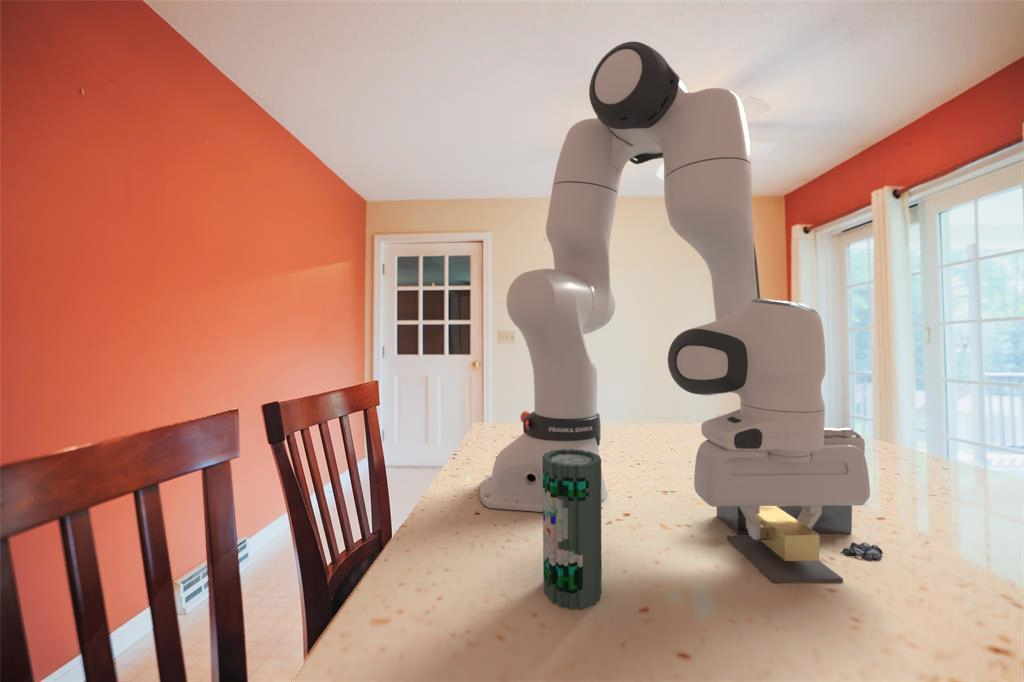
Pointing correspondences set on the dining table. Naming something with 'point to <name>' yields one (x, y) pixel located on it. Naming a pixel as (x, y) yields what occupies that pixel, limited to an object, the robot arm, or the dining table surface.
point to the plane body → (828, 522)
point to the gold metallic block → (788, 535)
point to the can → (572, 528)
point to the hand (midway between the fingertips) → (779, 537)
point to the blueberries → (864, 551)
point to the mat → (782, 563)
